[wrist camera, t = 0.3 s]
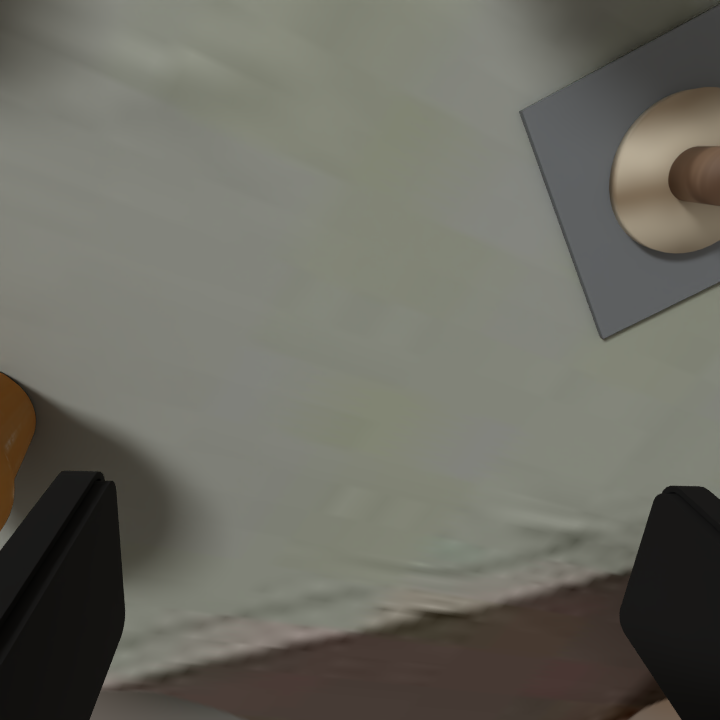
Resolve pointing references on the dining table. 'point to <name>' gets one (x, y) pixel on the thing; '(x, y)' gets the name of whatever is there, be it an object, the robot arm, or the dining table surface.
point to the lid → (671, 173)
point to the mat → (593, 166)
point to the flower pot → (12, 439)
